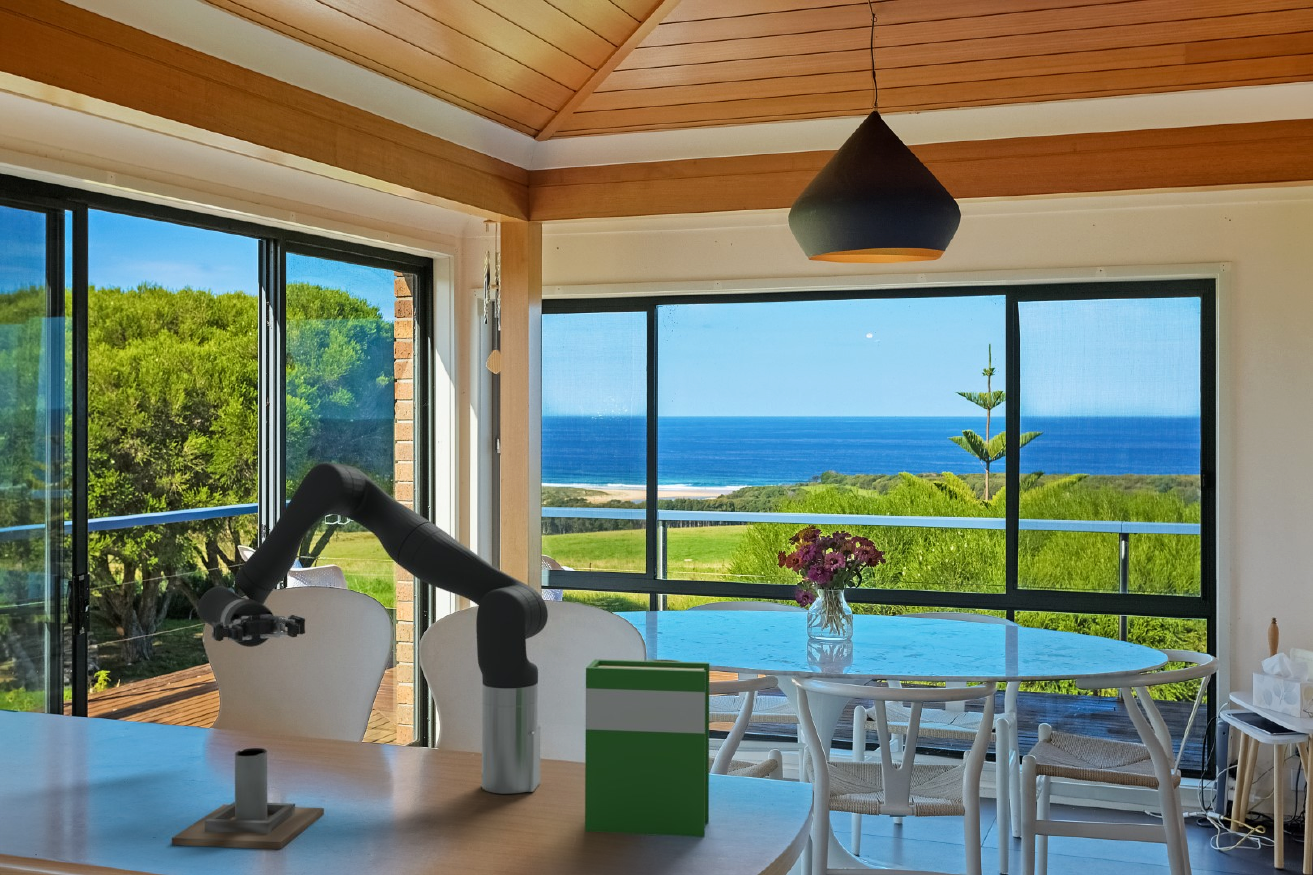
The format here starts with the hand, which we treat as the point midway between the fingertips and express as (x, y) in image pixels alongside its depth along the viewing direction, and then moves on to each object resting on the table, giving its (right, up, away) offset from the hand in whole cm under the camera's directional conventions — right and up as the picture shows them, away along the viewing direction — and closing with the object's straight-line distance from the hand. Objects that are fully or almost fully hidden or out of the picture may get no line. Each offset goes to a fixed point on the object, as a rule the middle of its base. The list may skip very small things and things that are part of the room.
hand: (268, 632), depth 190 cm
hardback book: (+61, -27, -13) cm, 68 cm away
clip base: (+3, -26, -15) cm, 31 cm away
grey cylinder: (+2, -26, -15) cm, 30 cm away
